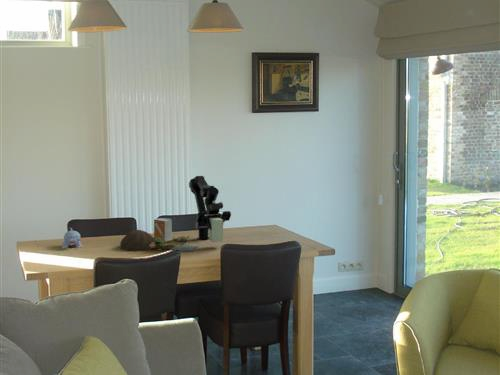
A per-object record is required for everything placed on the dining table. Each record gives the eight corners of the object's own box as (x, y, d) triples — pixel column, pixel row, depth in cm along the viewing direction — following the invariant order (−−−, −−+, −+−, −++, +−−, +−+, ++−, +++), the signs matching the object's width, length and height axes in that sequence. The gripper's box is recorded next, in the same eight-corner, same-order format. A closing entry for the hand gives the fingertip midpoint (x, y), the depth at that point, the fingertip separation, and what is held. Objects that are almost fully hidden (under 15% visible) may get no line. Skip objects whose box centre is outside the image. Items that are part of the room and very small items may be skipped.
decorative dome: (115, 245, 404) (115, 228, 403) (150, 243, 412) (150, 225, 411) (124, 252, 386) (124, 234, 385) (160, 249, 394) (160, 231, 393)
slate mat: (176, 246, 403) (176, 244, 403) (197, 247, 401) (197, 245, 401) (170, 250, 392) (170, 249, 391) (191, 251, 389) (191, 250, 389)
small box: (153, 242, 414) (153, 219, 412) (161, 240, 419) (161, 217, 417) (164, 243, 409) (164, 220, 408) (172, 241, 415) (172, 219, 413)
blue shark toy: (62, 250, 391) (62, 232, 389) (61, 244, 405) (60, 227, 404) (83, 249, 394) (83, 231, 393) (81, 243, 408) (80, 226, 407)
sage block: (209, 239, 401) (209, 218, 400) (219, 239, 403) (219, 217, 402) (212, 242, 396) (212, 220, 394) (222, 241, 398) (222, 219, 396)
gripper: (197, 198, 397) (203, 221, 388) (230, 196, 403) (236, 219, 394) (193, 210, 405) (199, 233, 396) (225, 208, 412) (231, 231, 403)
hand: (216, 229), depth 397 cm, fingers closed on sage block, 6 cm apart
